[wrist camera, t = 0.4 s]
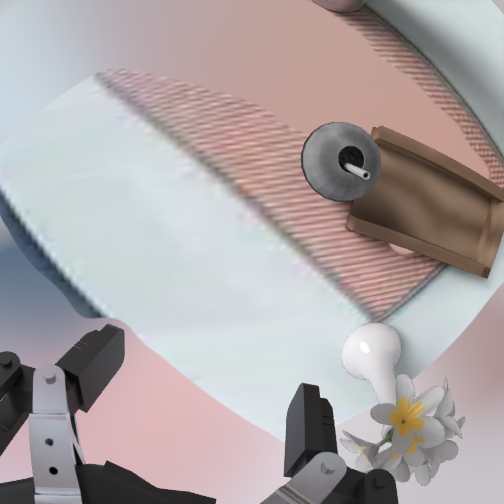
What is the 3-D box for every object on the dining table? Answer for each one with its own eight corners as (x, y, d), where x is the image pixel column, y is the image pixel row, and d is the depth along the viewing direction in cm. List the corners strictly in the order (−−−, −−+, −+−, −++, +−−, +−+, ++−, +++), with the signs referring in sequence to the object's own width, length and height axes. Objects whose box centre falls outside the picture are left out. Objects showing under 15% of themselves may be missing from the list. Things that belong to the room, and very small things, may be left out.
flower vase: (368, 391, 43) (400, 512, 19) (300, 331, 41) (309, 480, 17) (427, 345, 40) (494, 454, 16) (369, 272, 38) (455, 393, 14)
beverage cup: (354, 142, 34) (424, 115, 14) (347, 197, 36) (411, 225, 16) (298, 132, 34) (316, 88, 15) (291, 188, 36) (301, 205, 17)
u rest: (372, 127, 33) (382, 122, 29) (497, 190, 32) (512, 193, 28) (344, 227, 37) (351, 234, 33) (472, 272, 36) (486, 281, 32)
